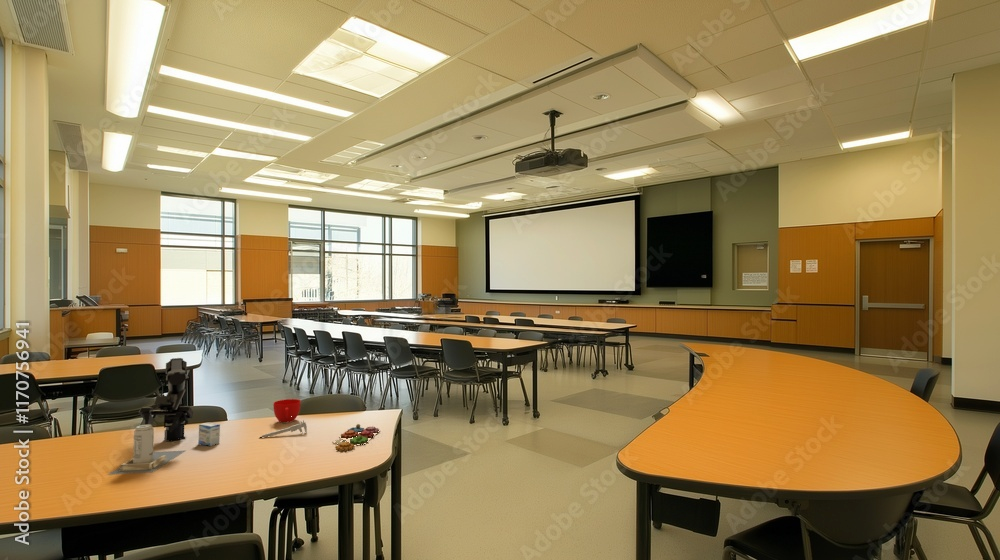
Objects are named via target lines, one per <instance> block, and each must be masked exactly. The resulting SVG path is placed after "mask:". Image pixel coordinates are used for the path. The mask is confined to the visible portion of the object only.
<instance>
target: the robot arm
mask: <svg viewBox="0 0 1000 560" xmlns="http://www.w3.org/2000/svg"><path fill="white" fill-rule="evenodd" d="M187 363H188V362H187V361H185V360H184V358H182V357H177V358H171V359H170V360H169V361H168V362H166V363H165V374H166V375H165V377H166V378H165V385H167V387H168V392H167V394H166V395H156V396H155V399H154V402H153V404H154V405H156V407H157V408H158V409H154V407H152V406H143V407H141V408H140V409H139V411H138V414H139V415H140V417H141V418H142V419H143V420H144V425H145V424H151V425H152V426H153V423H154V422H155V418H156V417H157V416H163V419H164V420H163V428H164V429H165V430H164V439H163V440H164V441H167V442H169V443H170V442H175V441H180V440H183V439H186V438H187V437H186V436H185V426H186V425H188V424H189V419H192V418H193V416H194V411H193V409H192V408H191V406H190V405H185V404H184V403H182V399H183V396H184V394H185V392H186V385H185V384H186V383H187V382H188V381H189V380H190V379H189V376H188V373H187V372H188V371H187V369H188V368H187V367H188V366H187Z"/></svg>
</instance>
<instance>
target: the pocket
mask: <svg viewBox="0 0 1000 560" xmlns="http://www.w3.org/2000/svg"><path fill="white" fill-rule="evenodd" d="M164 461H166V455H164V456H161V457H160V458H158V459H156V460H155V461H153V462H152V463H138V464H133V457H132V458H131V459H128V460H127V461H124V462H123V463H121V464H119V468H120V471H123V470H143V469H153V468H155V467H156V466H158V465H159V464H161V463H162V462H164Z"/></svg>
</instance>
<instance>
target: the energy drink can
mask: <svg viewBox="0 0 1000 560" xmlns="http://www.w3.org/2000/svg"><path fill="white" fill-rule="evenodd" d="M154 437H155V431H154V427H153V424H152V425H151V424H145V423H144V424H141V425H137V426H135V430H134V432H133V457H132V458H133V464H138V463H152V462H153V452H154V440H155V438H154Z"/></svg>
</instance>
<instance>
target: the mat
mask: <svg viewBox="0 0 1000 560" xmlns="http://www.w3.org/2000/svg"><path fill="white" fill-rule="evenodd" d="M186 451H187V450H170V451H169V450H168V451H165V450H163V451H153V461H155V460H156V459H158V458H160V457H161V456H164V455H166V461H164V462H162V463H161V464H159V465H158V466H156V467H155V468H153V469H143V470H123V471H120V467H118V468H117V469H114V470H113V471H111V472H109V473H108V474H107V475H109V476H110V475H125V474H126V475H127V474H146V473H151V474H152V473H154V472H156V471H157V470H159V469H161V468H162V467H163V466H164V465H166V464H168V463H169V462H171V461H172V460H174V459H176V458H177V457H179V456H180V455H181V454H184V453H185V452H186Z"/></svg>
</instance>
